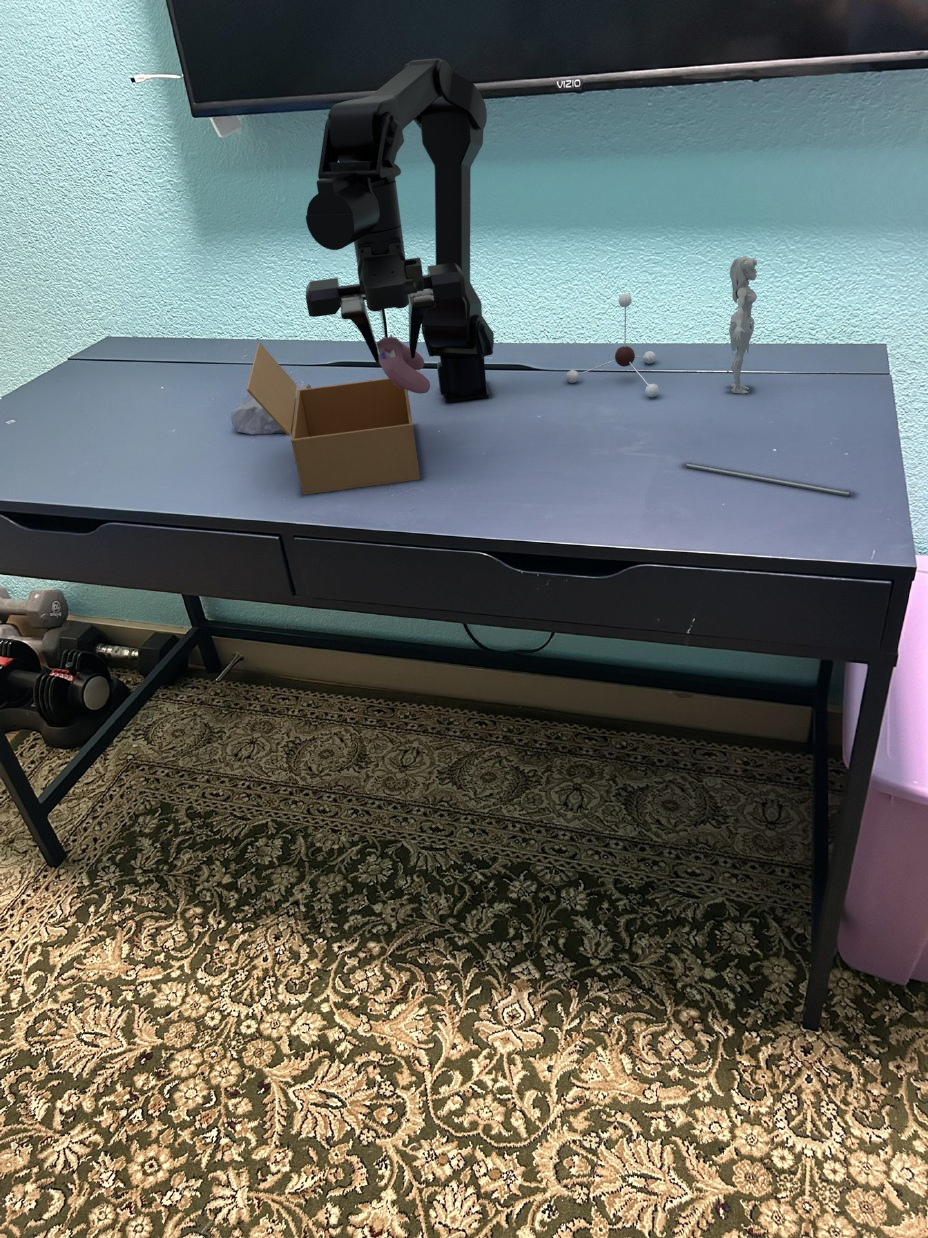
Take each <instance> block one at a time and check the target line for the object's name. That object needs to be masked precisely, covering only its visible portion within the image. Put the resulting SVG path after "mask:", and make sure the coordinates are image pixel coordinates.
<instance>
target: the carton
mask: <svg viewBox="0 0 928 1238" xmlns="http://www.w3.org/2000/svg"><path fill="white" fill-rule="evenodd" d="M414 430H415V429H414V424H413V418H412V410H411V404H410V397H409V390H407V389H405V388H402V389H400V388H399V387H398V386H397V385H394V384H393V382H392V381H391V380H390V379H389V378H388V377H386V378H378V379H371V380H363V381H355V382H348V383H340V384H332V385H323V386H317V387H311V388H308V389H301V390H297V397H296V405H295V413H294V421H293V427H292V428H291V437H290V442H291V447H292V451H293V456H294V460H295V464H296V469H297V475H298V479H299V484H300V488H301V491H302V495H303V496H305V495H312V494H320V493H327V492H329V493H330V492H336V491H343V490H350V489H351V490H352V489H357V488H366V487H367V488H368V487H374V486H380V485H389V484H395V483H397V484H398V483H403V482H411V481H418V480H421V477H420V468H419V462H418V454H417V446H416V445H417V444H416V438H415V431H414Z"/></svg>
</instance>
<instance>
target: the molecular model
mask: <svg viewBox="0 0 928 1238" xmlns="http://www.w3.org/2000/svg"><path fill="white" fill-rule="evenodd" d="M632 301H633V300H632V296H631V295H630V294H629V293H622V294H621V295H620V296H619V297H618V305H619V306H620V307H622V308H624V345H623V346H621V347H618V349H617V350H616V352H615V354H614V359H613V360H610V361H607V362H605V363H603V364H600V365H597V366H595V367H593V368H590V369H587V370H585V371H582V372H578V371H577V370H575V369H571V370H569V371H568V372H566V377H565V378H566V380H567V382H569V383H577V381H578V380H579V376H580V375H583V374H585V373H588V372H590V371H594V370H596V369H598V368H600V367H603V366H606V365H609V364H611V363H613V362H616V364H617V365H618V366H620V367H629V366H631V367H632V368H633V369H634V371H635V372H636V373H637V374H638V376H639V377H640V378H641V379H642V381H643V382H644V383H645V385H647V386H646V387H645V394H646V395H647V396H648V397H650V398H654V397H656V396H657V395H658V394H659V391H660V389H659V386H658V385H657V384H656V383H648V382H647V380H645V378H644V377H643V376H642V374H640V372H639V371H638V370H637V368H636V367H635V366H634V365H633V363H634V361H635V359H643V361H644V362H645V364H649V365H650V364H653V363H654V362H655V361H656V357H657V356H656V353H654V352H653V351H646V352H644V354H643V356H636V353H635V351H634V349H633V348H631V347H630V346H627V344H626V343H627V342H626V341H627V339H626V338H627V308H628V307H629V306H631V304H632Z"/></svg>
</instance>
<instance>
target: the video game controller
mask: <svg viewBox="0 0 928 1238" xmlns="http://www.w3.org/2000/svg"><path fill="white" fill-rule="evenodd" d="M376 345H377V349H378V356H379V363H378V364H379V365H380V367H381V369H382V370H383V373H384V374H385V375H386V376H387V378H389V379H390V380H391V381H392V382H393V384H394V385H397V386H398V387H399V388H400V389H402V388H405V389H407V390H408V392H411V393H415V394H419V395H420V394H421V395H422V394H426V393H428V392H429V391H430V388H431V382H430V380H429V379H428V378H427V377H426V376H425V374H423V373H421V372H419V371H421V370H422V369H423V368H424V366H425V360H424V358H423V356H422V355H421V354H420V353H419V352H418V351H416V353H415V358H411V353H410V346H407V345H406V344H404V343H403V342H402V341H401V340H399V338H397V337H394V336H393V334H390V335H389V336H387V337H385V336H384V337H382V338H381V339H380V340H378V341H377V342H376Z"/></svg>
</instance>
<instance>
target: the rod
mask: <svg viewBox="0 0 928 1238" xmlns="http://www.w3.org/2000/svg"><path fill="white" fill-rule="evenodd" d="M685 468H686V469H689V470H693V471H700V472H706V473H711V474H717V475H723V476H729V477H732V478H733V477H734V478H740V479H744V480H751V481H756V482H760V483H761V482H762V483H766V484H767V483H768V484H771V485H772V484H773V485H778V486H783V487H789V488H794V489H801V490H806V491H811V492H816V493H822V494H827V495H828V494H829V495H834V496H839V497H844V498H845V497H846V498H849V497H851V492H850V491H848V490H842V489H837V488H836V489H835V488H831V487H825V486H819V485H813V484H808V483H803V482H802V483H801V482H797V481H790V480H786V479H779V478H774V477H769V476H763V475H758V474H751V473H746V472H740V471H734V470H729V469H723V468H719V467H713V466H707V465H701V464H696V463H689V462H687V463H686V465H685Z"/></svg>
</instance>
